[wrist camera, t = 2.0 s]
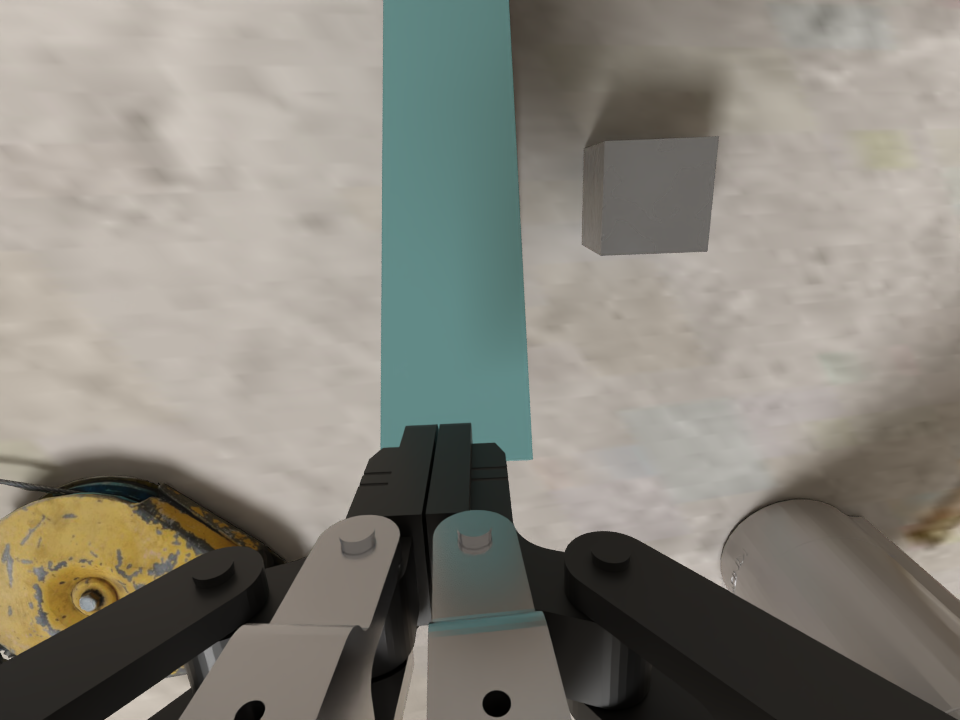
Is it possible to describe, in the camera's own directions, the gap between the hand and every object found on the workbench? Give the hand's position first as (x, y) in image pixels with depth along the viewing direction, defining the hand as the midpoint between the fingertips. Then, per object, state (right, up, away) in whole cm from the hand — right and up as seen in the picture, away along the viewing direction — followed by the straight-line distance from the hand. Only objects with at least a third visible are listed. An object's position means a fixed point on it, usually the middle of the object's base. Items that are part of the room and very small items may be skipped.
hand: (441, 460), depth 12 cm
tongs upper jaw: (0, +11, +7) cm, 13 cm away
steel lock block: (+9, +11, +16) cm, 22 cm away
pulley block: (-18, -12, +25) cm, 33 cm away
